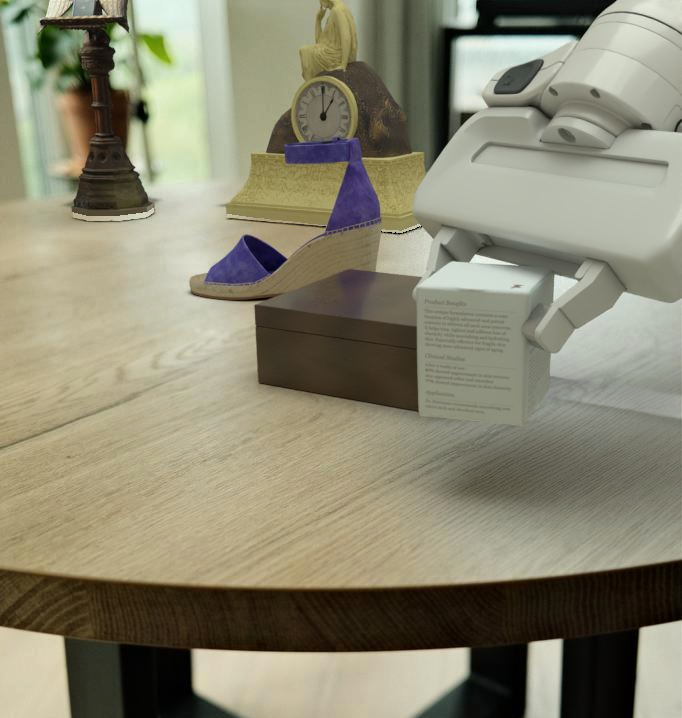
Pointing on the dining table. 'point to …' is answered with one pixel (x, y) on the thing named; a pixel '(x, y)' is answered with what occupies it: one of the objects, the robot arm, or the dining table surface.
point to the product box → (481, 342)
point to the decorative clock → (335, 119)
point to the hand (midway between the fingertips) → (476, 324)
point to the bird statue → (101, 112)
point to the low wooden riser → (343, 338)
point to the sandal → (318, 256)
